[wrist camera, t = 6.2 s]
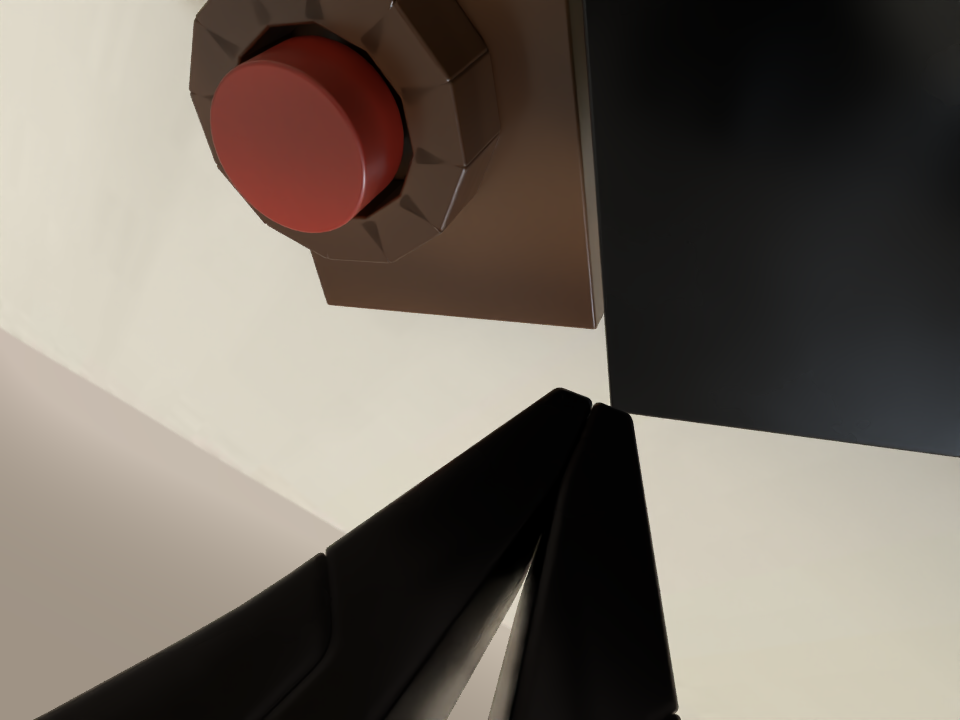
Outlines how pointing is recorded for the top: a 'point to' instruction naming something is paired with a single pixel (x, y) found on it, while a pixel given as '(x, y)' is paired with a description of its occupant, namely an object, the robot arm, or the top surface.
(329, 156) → the button
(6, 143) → the top surface
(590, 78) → the cooker lid
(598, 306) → the control block
